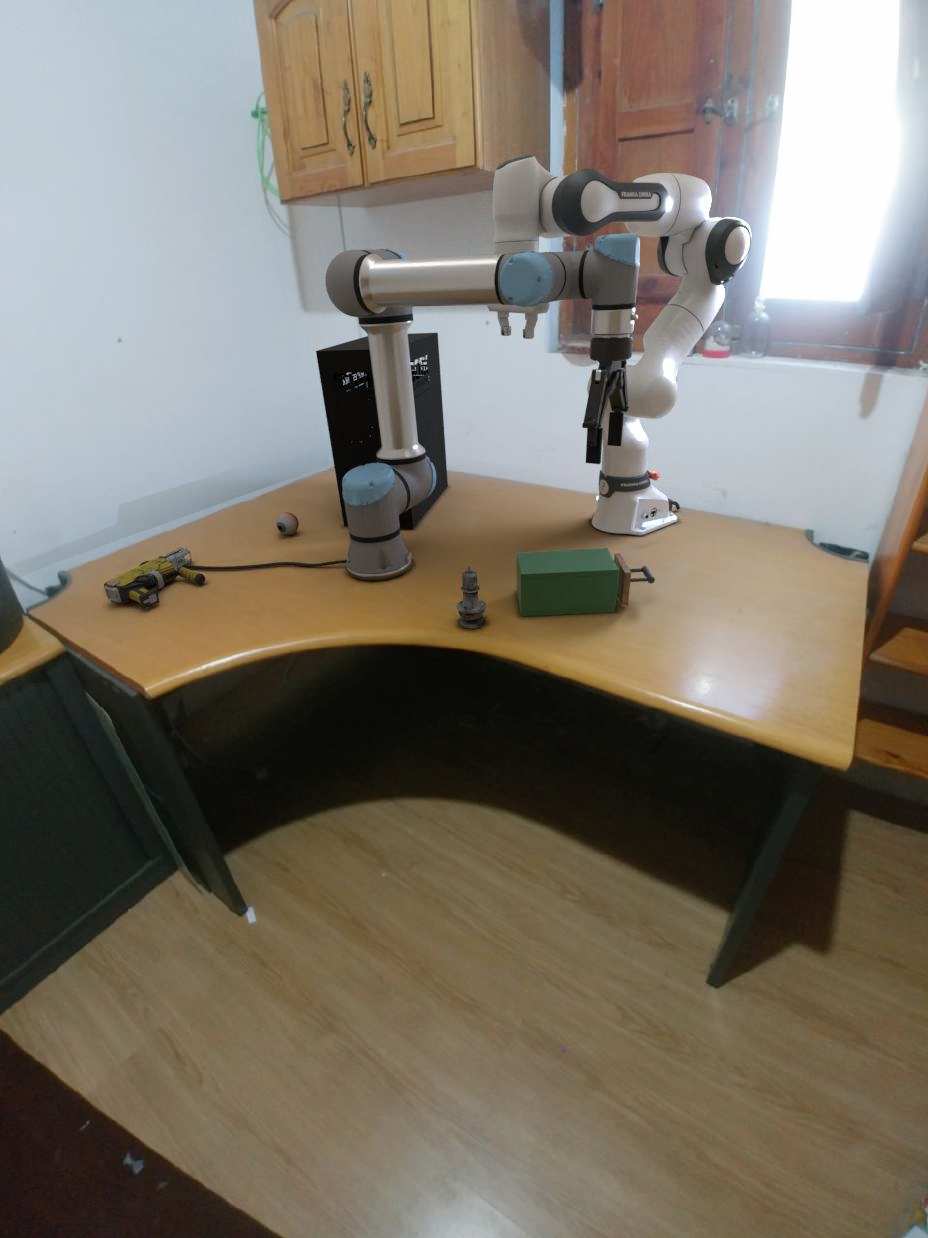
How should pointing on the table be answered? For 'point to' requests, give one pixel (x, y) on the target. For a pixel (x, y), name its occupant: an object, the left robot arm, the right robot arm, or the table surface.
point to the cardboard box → (357, 413)
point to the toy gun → (150, 579)
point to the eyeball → (287, 523)
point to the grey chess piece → (471, 602)
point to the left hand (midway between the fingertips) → (604, 454)
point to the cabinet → (566, 582)
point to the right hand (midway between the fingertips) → (516, 337)
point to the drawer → (628, 578)
